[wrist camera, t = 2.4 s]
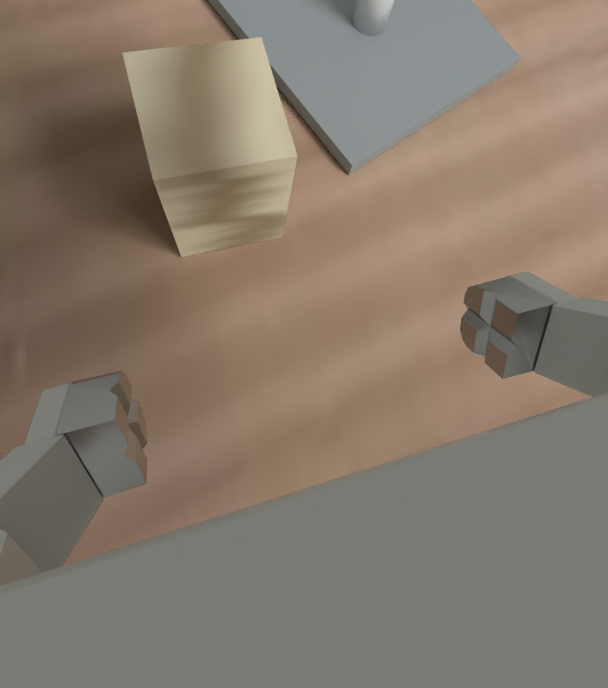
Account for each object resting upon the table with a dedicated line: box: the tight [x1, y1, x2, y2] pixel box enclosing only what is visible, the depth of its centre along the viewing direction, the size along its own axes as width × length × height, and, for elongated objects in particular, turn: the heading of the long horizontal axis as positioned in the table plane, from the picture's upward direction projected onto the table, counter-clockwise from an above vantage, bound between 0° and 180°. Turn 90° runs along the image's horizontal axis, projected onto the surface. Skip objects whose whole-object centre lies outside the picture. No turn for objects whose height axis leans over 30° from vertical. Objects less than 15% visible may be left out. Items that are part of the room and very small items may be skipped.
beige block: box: [122, 37, 297, 257], centre depth 22 cm, size 6×6×8 cm
